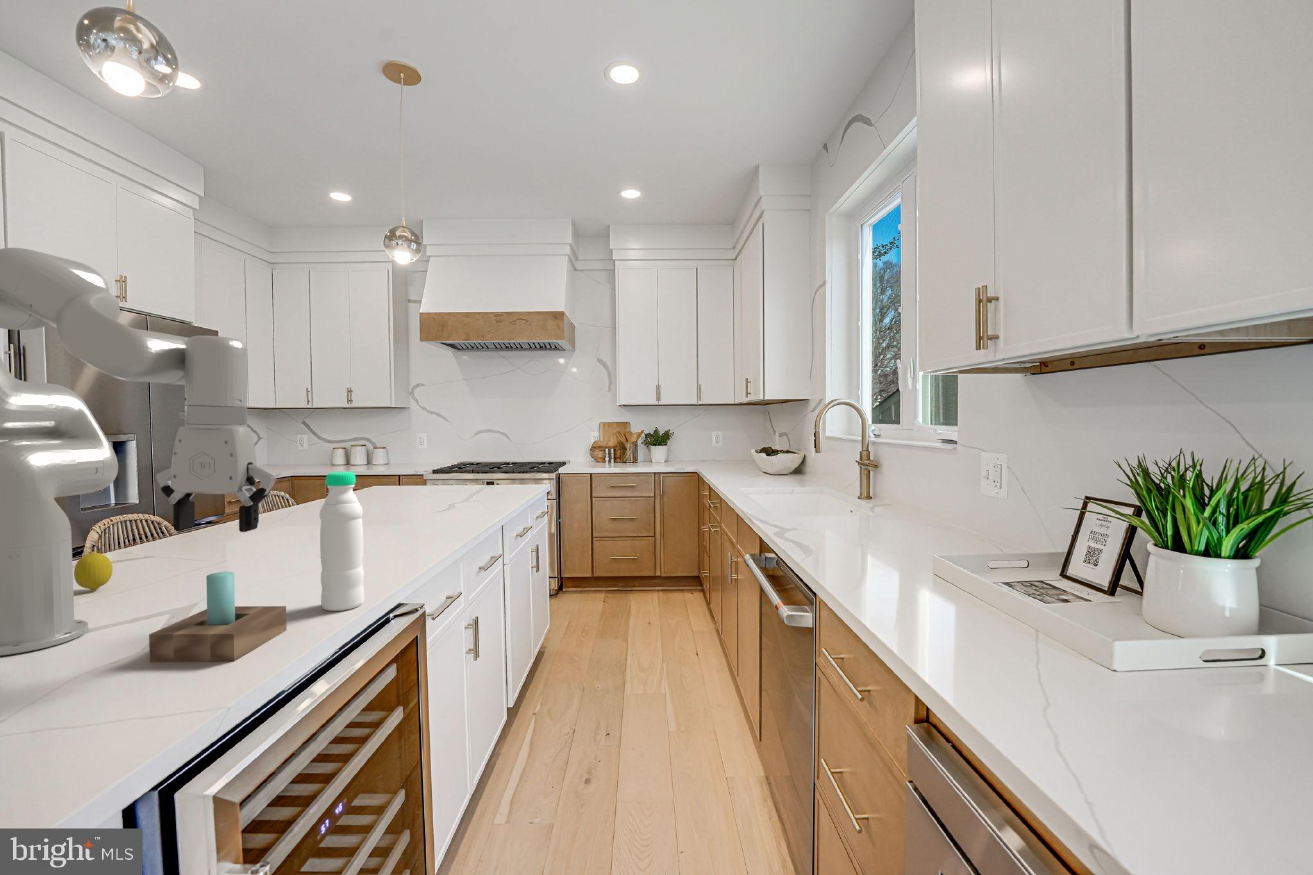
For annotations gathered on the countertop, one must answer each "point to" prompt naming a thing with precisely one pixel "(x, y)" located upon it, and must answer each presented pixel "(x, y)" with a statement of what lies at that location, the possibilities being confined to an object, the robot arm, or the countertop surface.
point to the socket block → (217, 635)
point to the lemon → (93, 571)
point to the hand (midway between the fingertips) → (216, 529)
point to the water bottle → (341, 545)
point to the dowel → (220, 598)
